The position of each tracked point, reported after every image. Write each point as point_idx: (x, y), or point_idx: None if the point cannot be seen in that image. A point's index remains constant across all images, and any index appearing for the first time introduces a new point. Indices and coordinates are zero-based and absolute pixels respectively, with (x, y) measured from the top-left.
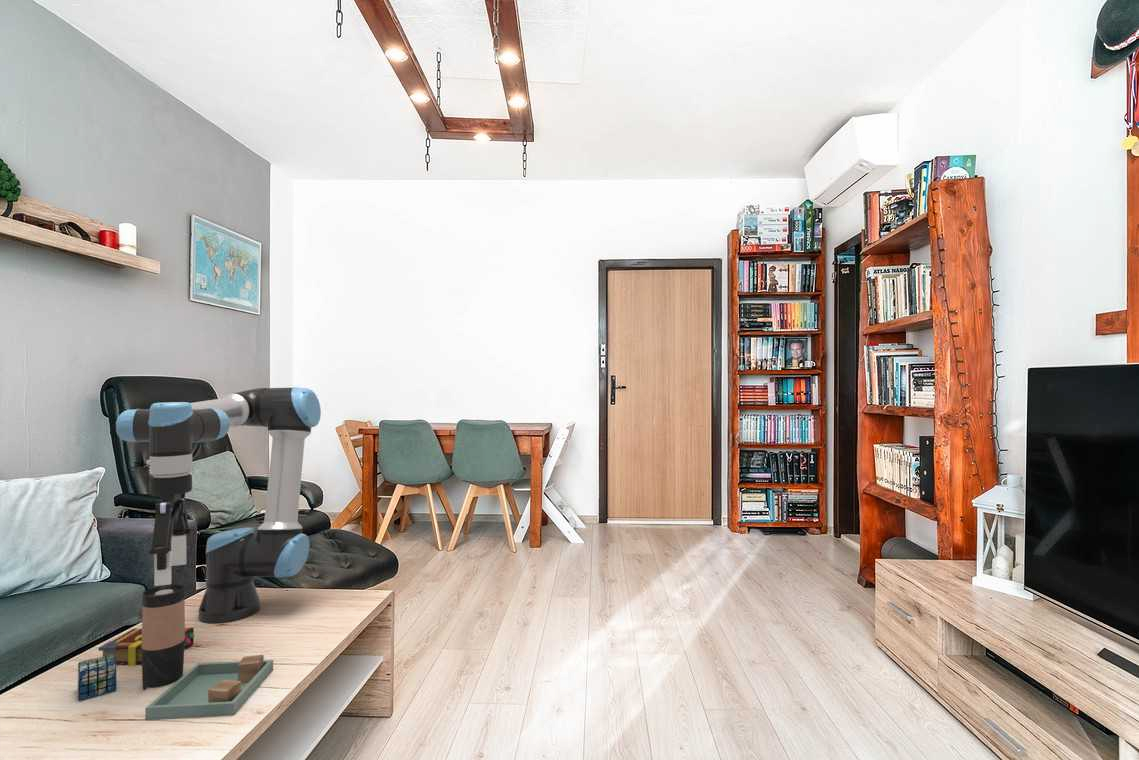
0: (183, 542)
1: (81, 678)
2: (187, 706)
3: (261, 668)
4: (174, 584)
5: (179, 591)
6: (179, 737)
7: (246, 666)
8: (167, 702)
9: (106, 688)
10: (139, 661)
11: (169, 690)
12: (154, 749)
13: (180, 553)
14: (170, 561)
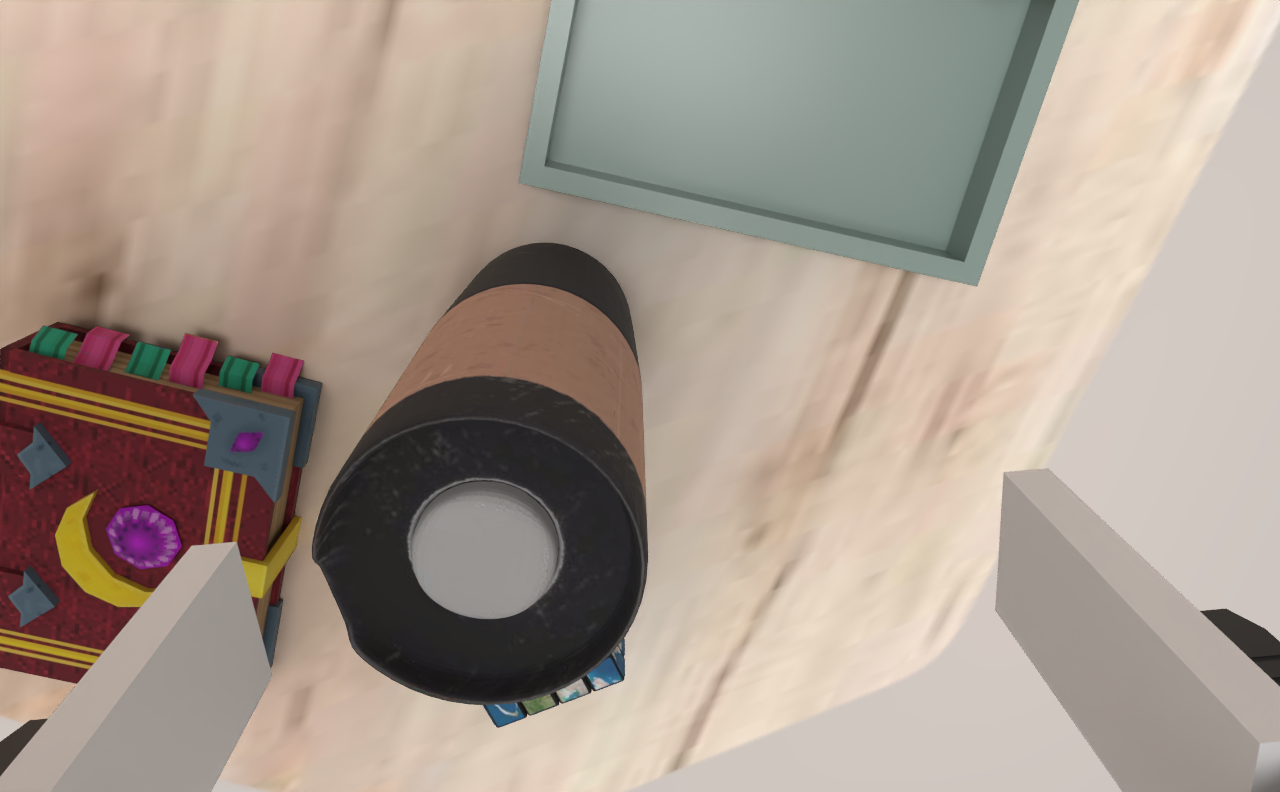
0: (87, 780)
1: (621, 654)
2: (1047, 86)
3: None
4: (316, 533)
5: (548, 426)
6: (1148, 78)
7: None
8: (834, 226)
9: None
10: (287, 509)
11: (825, 232)
12: (1200, 157)
13: (183, 689)
14: (1209, 628)
